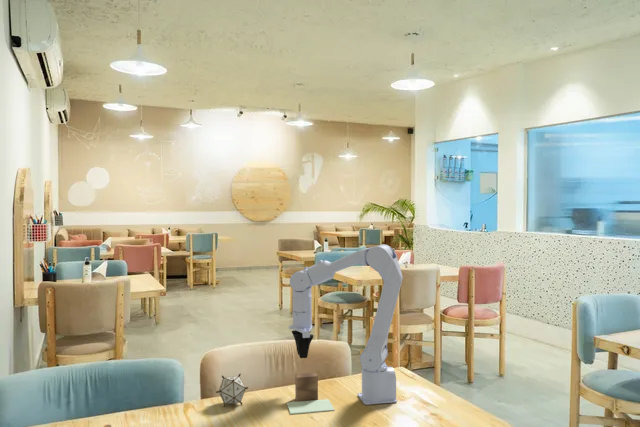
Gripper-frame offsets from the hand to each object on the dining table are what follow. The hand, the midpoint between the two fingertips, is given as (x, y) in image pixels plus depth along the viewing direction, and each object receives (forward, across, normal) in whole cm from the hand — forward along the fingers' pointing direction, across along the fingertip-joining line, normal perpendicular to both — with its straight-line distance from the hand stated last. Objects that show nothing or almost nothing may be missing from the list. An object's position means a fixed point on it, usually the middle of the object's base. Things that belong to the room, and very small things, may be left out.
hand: (302, 356), depth 150 cm
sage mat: (+10, +13, 0) cm, 16 cm away
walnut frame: (+10, +7, 0) cm, 13 cm away
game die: (+11, +6, -21) cm, 24 cm away
